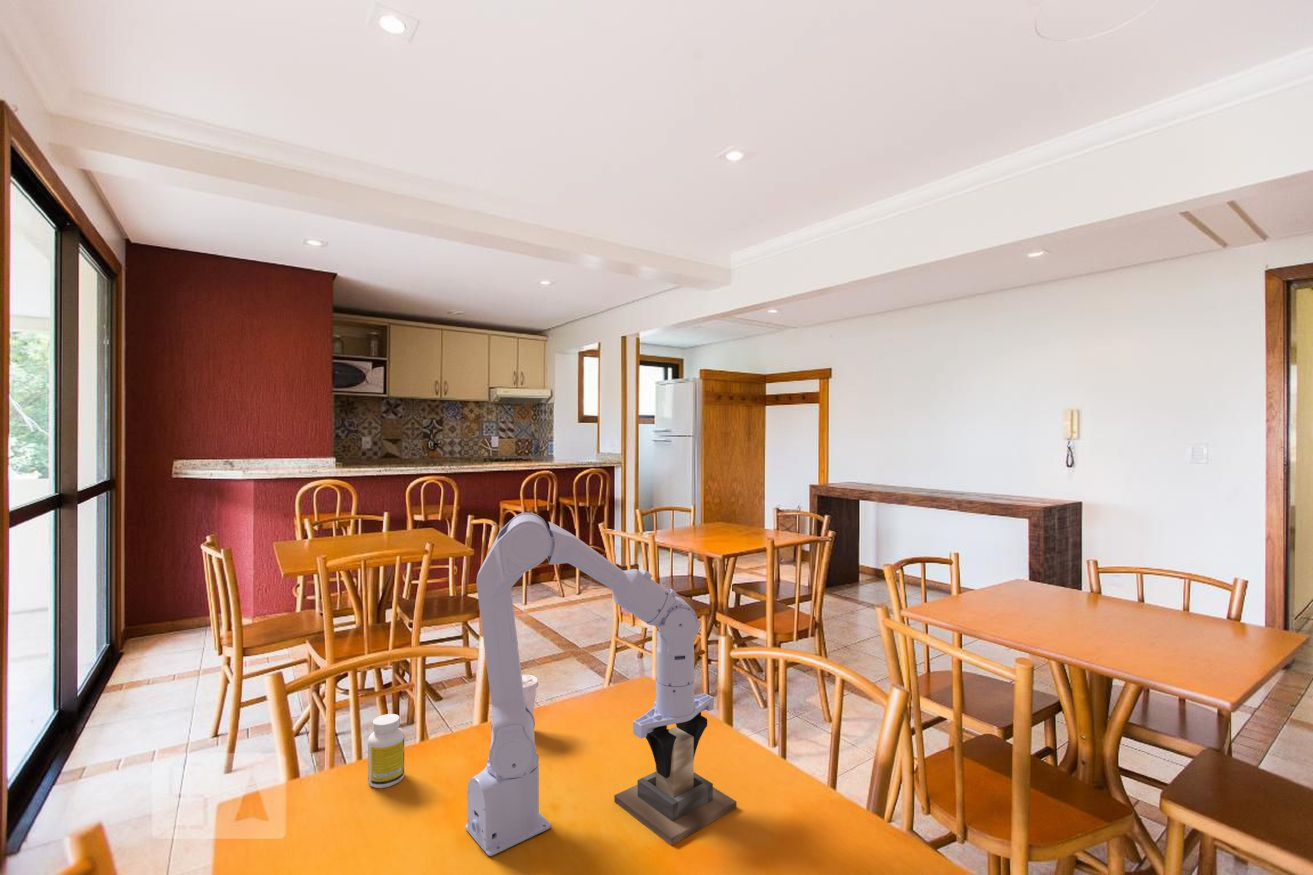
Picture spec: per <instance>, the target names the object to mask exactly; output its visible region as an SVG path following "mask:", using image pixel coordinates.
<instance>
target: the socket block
mask: <svg viewBox="0 0 1313 875" xmlns="http://www.w3.org/2000/svg"><path fill="white" fill-rule="evenodd" d="M613 799H614V800H613V801H614V803H615V804H617V805H618V806H619V807H621V809H623V810H624V811H625V812H626V813H628V814H629V815H631V816H632V817H634V818H635V819H636V820H638V821H639V822H640V823H641V824H642V825H644V826H645V827H646V828H647V829H648V830H650V831H651V832H653V833H654V834H656V835H657V836H658V837H659V838H660V839H662V840H663V841H664V842H666V844H669V845H670V846H674V845H675V844H677V843H679V842H680V841H682V840H684V839H686V838H687V837H688V836H691V835H692V834H694V833H696V832H697V831H699V830H701V829H702V828H705V827H706V826H708V825H709V824H712V823H714V822H715V821H716V820H718V819H720V818H722V817H724V816H726V815H727V814H729V813H731V812H732V811H734V810H736V809H737V808H738V807H737V801H736V800H735V799H733V798H732V797H730V796H728V795H726V794H725V793H724V792H722V791H720V790H719V789H717V788H716V787H714V783H713V782H711V781H710V780H708V779H706V778H704V777H702V776H701V775H699V774H698V773H696V772H694V781H693V789H691V790H689V791H687V792H685V793H683V794H681V795H679V796H677V797H675V798H672V797H670V796H669V795H667V794H666V793H665V792H663V791H662V790H660V789H659V788H657V787H656V771H655V772H654V771H653V772H652V773H650V774H647V775H645V776H643V777H642V778H639V779H637V784H636V785H633V786H631V787H629V788H627V789H625V790H622V791H620V792H618V793H616V794H614V797H613Z"/></svg>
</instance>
